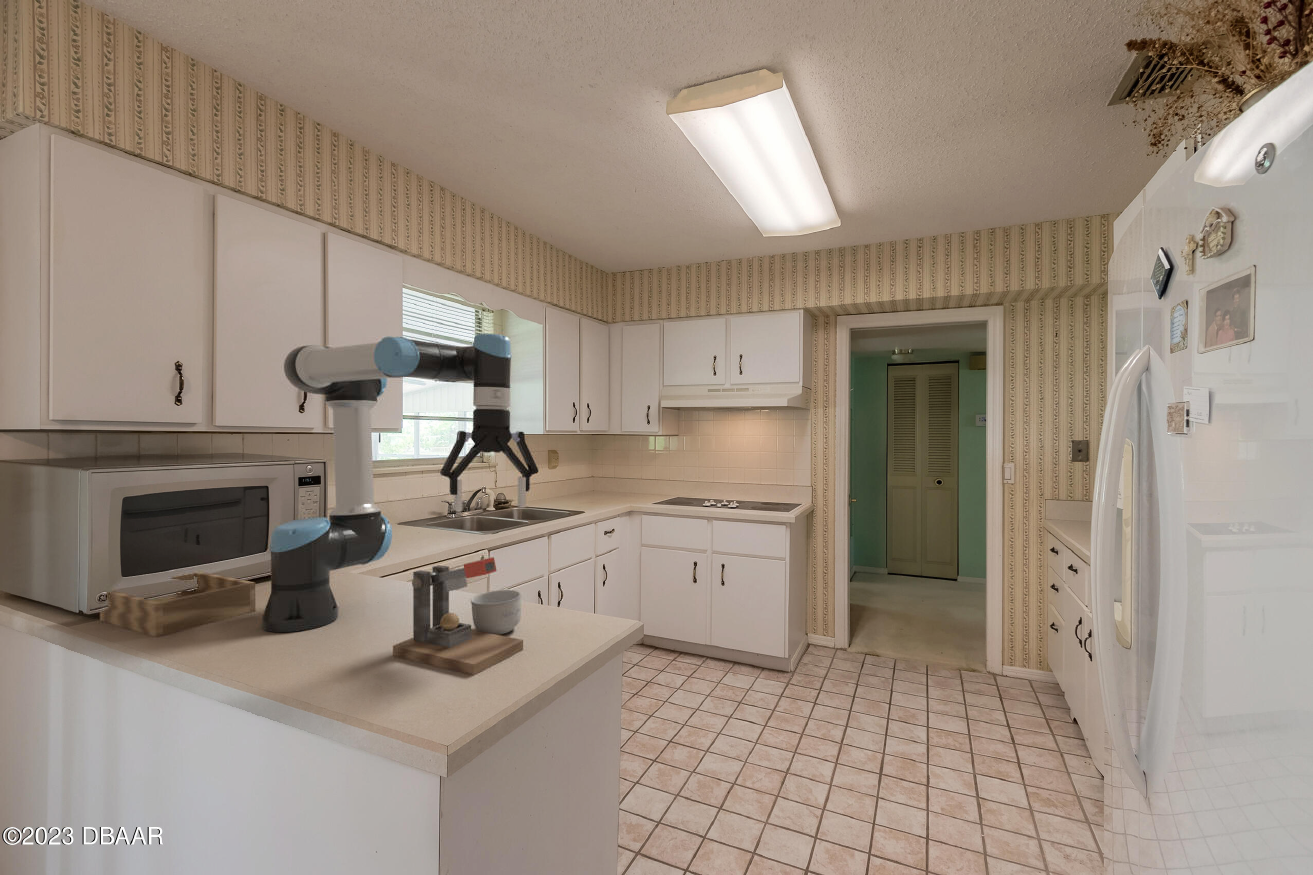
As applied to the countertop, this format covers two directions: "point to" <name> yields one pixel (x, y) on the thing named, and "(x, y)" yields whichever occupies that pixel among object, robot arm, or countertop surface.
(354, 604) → the countertop surface
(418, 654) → the press base
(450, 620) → the walnut
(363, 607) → the countertop surface
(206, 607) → the open wooden box
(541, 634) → the countertop surface
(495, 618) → the teacup
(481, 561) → the lever
